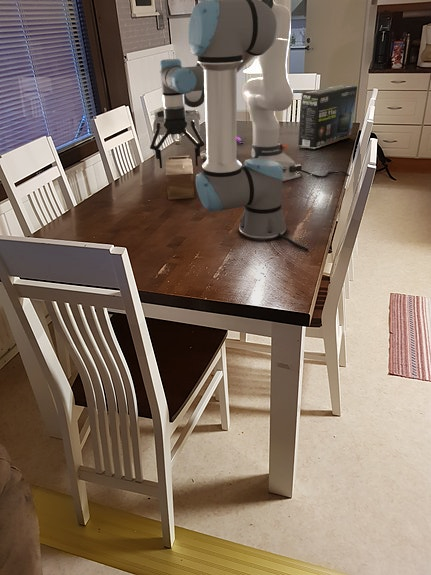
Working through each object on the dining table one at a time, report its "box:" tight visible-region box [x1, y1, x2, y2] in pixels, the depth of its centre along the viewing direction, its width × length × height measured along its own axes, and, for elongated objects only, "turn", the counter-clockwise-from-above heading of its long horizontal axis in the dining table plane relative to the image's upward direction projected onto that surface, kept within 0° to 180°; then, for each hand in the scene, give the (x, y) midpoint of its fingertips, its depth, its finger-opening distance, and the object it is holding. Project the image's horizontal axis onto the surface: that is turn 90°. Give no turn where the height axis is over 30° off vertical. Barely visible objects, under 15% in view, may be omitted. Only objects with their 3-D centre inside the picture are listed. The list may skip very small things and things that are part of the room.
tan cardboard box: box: [165, 158, 195, 201], centre depth 186 cm, size 21×10×10 cm, turn 4°
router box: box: [297, 84, 358, 151], centre depth 238 cm, size 36×11×27 cm, turn 134°
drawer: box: [168, 155, 191, 160], centre depth 195 cm, size 25×9×8 cm, turn 4°
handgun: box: [237, 136, 244, 146], centre depth 255 cm, size 21×8×2 cm, turn 11°
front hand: (179, 166), depth 175 cm, fingers open, 13 cm apart
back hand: (177, 144), depth 198 cm, fingers closed
